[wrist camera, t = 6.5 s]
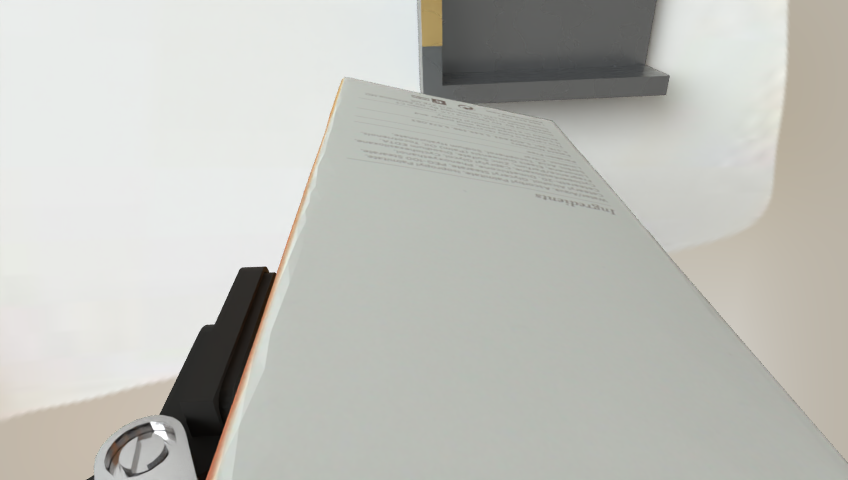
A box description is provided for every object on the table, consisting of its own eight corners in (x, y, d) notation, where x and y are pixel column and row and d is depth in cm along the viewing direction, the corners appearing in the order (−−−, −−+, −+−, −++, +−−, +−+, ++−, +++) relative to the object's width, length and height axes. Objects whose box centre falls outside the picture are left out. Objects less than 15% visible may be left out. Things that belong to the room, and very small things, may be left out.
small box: (339, 71, 14) (123, 634, 3) (557, 117, 15) (1066, 666, 4) (308, 304, 18) (168, 925, 7) (481, 328, 19) (615, 901, 8)
